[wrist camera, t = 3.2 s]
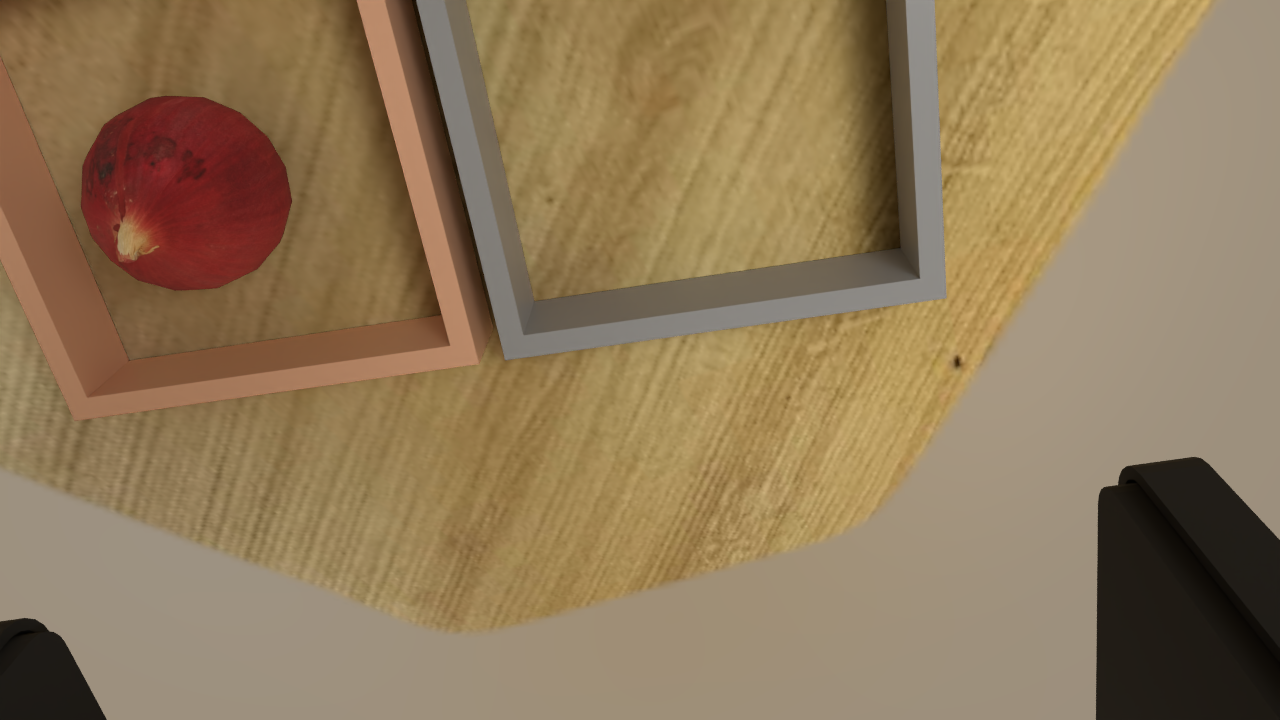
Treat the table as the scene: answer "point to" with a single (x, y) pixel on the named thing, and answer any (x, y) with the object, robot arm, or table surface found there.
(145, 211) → the onion
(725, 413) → the table surface
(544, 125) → the table surface
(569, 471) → the table surface
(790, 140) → the table surface
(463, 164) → the frame
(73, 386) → the terracotta crate
